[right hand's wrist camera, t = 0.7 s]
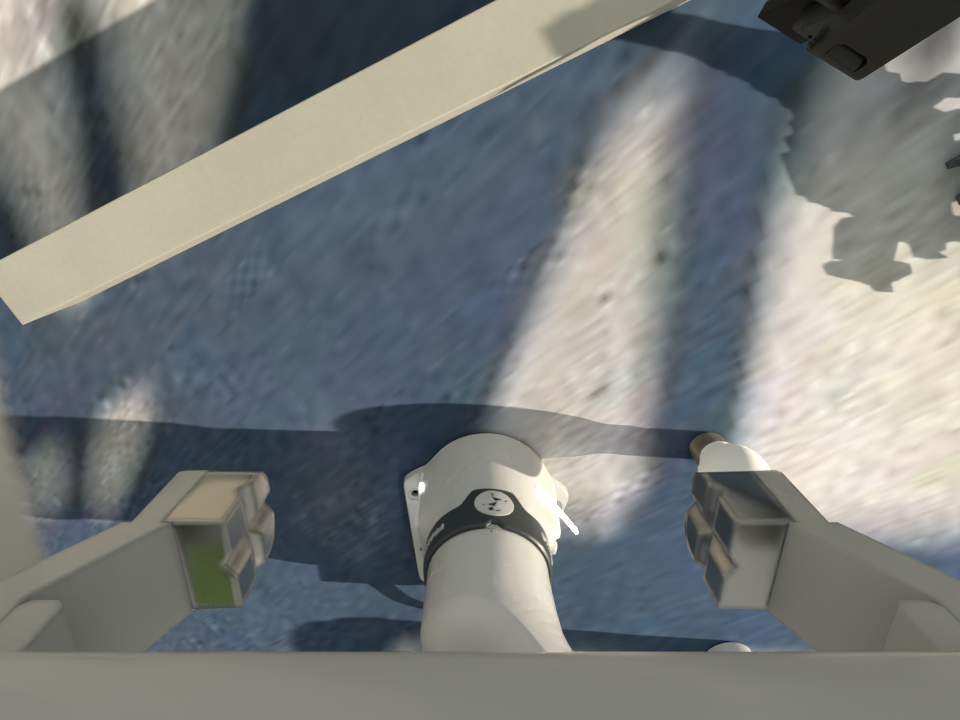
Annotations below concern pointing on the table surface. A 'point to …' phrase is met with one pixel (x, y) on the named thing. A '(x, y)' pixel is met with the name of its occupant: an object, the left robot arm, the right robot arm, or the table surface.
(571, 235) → the table surface
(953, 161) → the toy
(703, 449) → the light bulb
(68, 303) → the bar
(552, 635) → the right robot arm
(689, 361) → the table surface
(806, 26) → the left robot arm
